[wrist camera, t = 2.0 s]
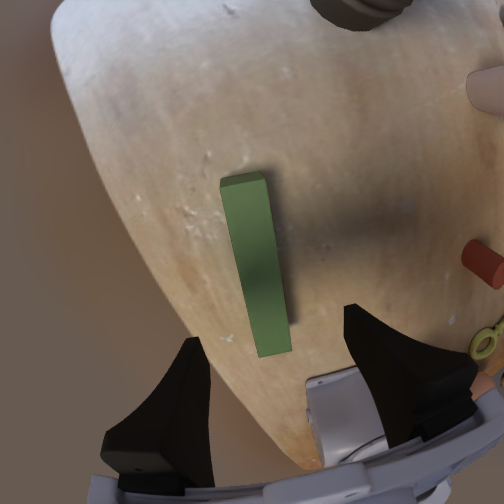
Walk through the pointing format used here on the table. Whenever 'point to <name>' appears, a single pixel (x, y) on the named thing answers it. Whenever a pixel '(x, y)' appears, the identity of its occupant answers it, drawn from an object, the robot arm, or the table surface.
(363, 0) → the candle holder
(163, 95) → the table surface
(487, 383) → the toy ball
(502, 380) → the tan rough tapered rod
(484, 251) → the brick rod
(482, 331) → the key
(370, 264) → the table surface
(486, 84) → the smoothie
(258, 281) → the green bar
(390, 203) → the table surface
